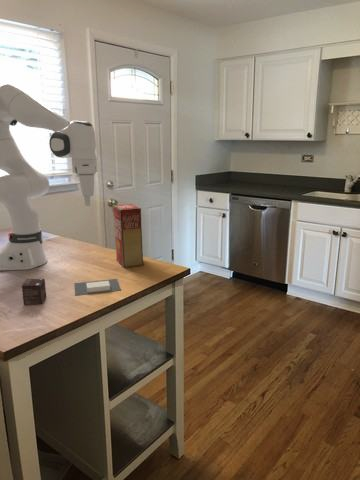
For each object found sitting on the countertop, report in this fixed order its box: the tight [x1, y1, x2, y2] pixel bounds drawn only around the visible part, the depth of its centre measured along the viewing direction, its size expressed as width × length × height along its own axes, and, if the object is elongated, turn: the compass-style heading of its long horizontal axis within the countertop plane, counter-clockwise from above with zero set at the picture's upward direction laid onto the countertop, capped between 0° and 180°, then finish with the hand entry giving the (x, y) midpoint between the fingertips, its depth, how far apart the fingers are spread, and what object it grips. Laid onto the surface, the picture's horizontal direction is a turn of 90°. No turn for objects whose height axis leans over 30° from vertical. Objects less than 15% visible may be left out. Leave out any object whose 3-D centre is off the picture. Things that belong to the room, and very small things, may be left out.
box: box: [21, 278, 47, 306], centre depth 129 cm, size 6×6×7 cm
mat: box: [74, 278, 122, 297], centre depth 142 cm, size 16×12×1 cm
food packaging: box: [112, 203, 144, 269], centre depth 168 cm, size 13×9×25 cm
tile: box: [86, 280, 110, 293], centre depth 140 cm, size 8×2×5 cm
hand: (87, 205), depth 144 cm, fingers closed
